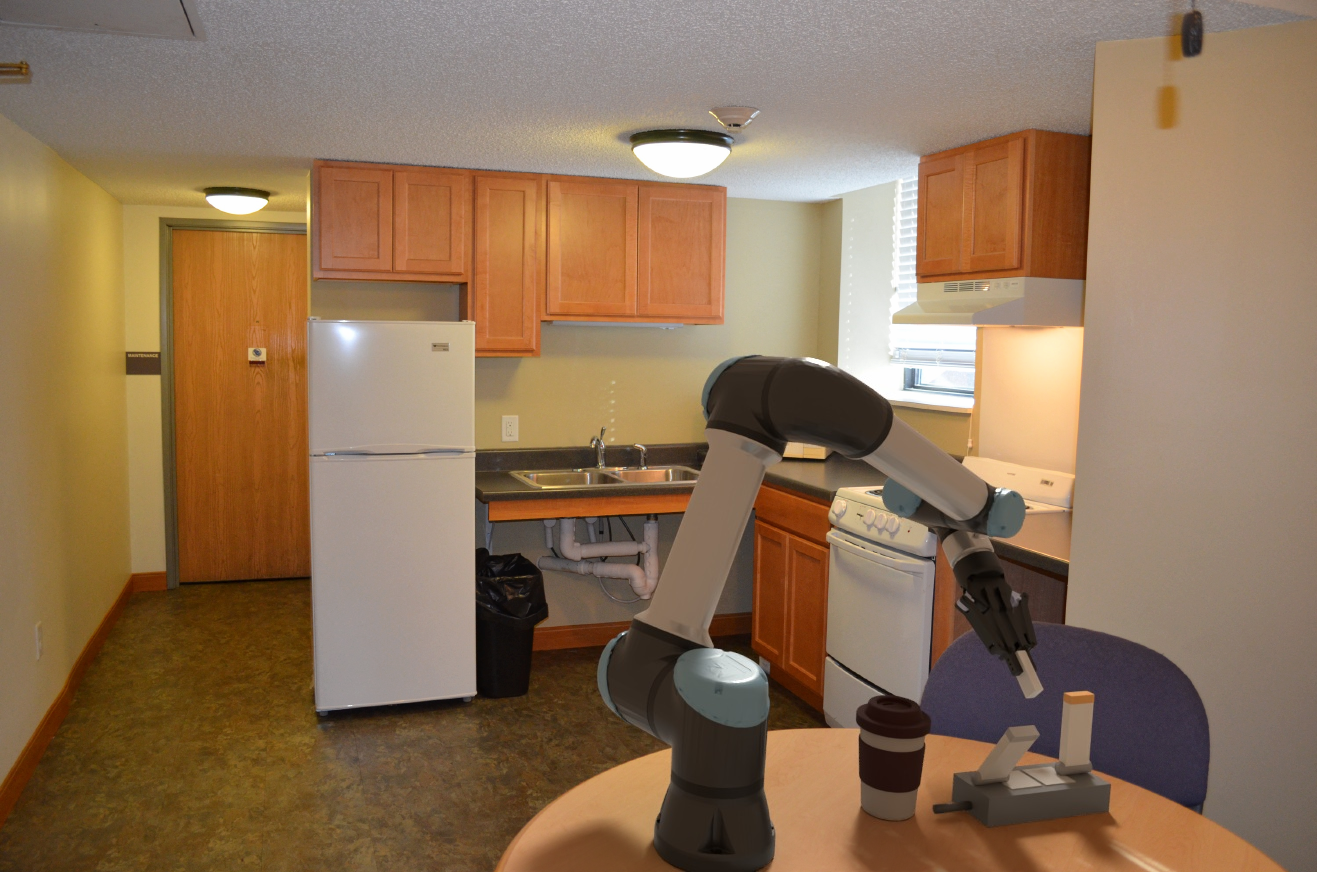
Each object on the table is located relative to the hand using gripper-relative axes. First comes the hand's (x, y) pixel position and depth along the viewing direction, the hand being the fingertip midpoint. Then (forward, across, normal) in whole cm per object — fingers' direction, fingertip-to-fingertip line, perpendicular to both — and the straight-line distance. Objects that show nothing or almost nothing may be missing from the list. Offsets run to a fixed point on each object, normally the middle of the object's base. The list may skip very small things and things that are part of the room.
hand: (1034, 693), depth 145 cm
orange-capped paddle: (+12, 0, -1) cm, 12 cm away
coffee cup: (+13, -28, +5) cm, 31 cm away
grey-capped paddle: (+12, -14, -1) cm, 18 cm away
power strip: (+15, -10, +2) cm, 18 cm away
